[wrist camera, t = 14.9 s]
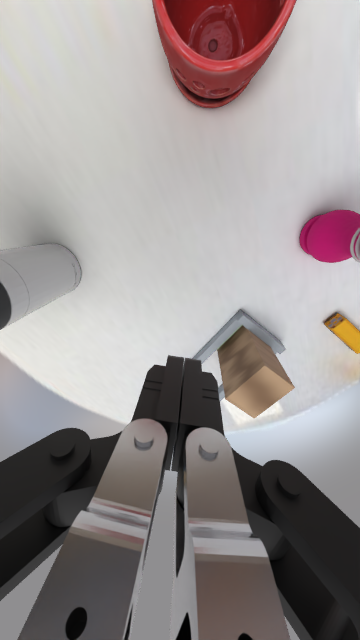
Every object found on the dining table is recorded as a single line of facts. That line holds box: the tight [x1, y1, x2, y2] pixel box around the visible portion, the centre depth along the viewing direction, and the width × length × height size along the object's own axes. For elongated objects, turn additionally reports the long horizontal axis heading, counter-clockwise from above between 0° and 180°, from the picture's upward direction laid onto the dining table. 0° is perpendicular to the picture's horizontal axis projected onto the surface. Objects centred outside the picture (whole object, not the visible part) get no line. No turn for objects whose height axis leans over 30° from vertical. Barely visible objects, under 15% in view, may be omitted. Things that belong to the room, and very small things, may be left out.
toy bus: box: [324, 313, 360, 354], centre depth 41 cm, size 3×10×4 cm, turn 51°
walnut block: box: [217, 325, 295, 418], centre depth 39 cm, size 8×6×14 cm
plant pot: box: [152, 0, 296, 108], centre depth 23 cm, size 13×13×12 cm
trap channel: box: [193, 310, 285, 401], centre depth 47 cm, size 29×11×3 cm, turn 143°
